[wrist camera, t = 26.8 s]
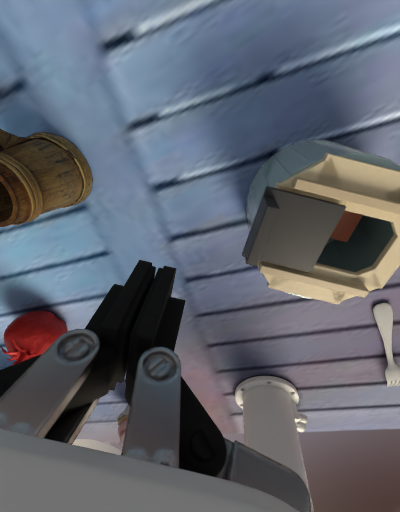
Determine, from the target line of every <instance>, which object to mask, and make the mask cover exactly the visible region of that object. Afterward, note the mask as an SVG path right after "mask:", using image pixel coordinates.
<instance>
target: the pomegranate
mask: <svg viewBox="0 0 400 512" xmlns="http://www.w3.org/2000/svg"><path fill="white" fill-rule="evenodd" d="M66 332H68V330H67V327H66V325H65V323H64V322H63V321H62V320H61V319H59V318H57V317H56V316H55V315H54V314H53V313H51V312H48V311H33V312H28V313H26V314H24V315H22V316H20V317H18V318H17V319H15V320H14V321H13V322H12V323H11V324H10V325H9V326H8V327H7V329H6V330H5V333H4V343H5V346H6V348H7V350H8V352H7V351H5V350H4V349H3V348H2V347H1V346H0V347H1V348H2V350H3V352H4V353H5V354H9V355H10V356H11V357H12V358H11V359H7V360H9V361H12V360H17V361H15V362H14V363H13V364H12V365H15V364H17V363H20V362H22V361H25V360H28V359H30V358H33V357H36V356H38V355H41V354H43V353H44V352H45V351H46V350H47V349H48V348H49V347H50V346H51V345H52V344H53V342H54V341H55V340H56V339H57V338H59V337H60V336H61V335H62V334H64V333H66Z"/></svg>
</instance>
